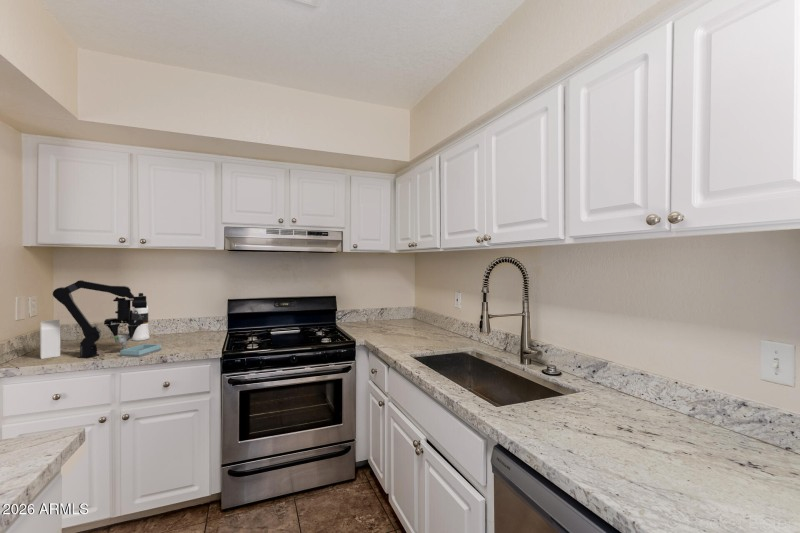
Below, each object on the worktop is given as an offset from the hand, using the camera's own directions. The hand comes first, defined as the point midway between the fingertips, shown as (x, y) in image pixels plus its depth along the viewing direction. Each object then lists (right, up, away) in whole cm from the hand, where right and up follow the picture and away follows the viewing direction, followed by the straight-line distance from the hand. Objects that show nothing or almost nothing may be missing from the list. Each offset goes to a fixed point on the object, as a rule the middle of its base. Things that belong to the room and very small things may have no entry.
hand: (123, 337), depth 197 cm
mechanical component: (0, -9, 0) cm, 9 cm away
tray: (+10, -9, -1) cm, 14 cm away
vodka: (-14, -8, +33) cm, 37 cm away
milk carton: (-31, -9, -10) cm, 34 cm away
